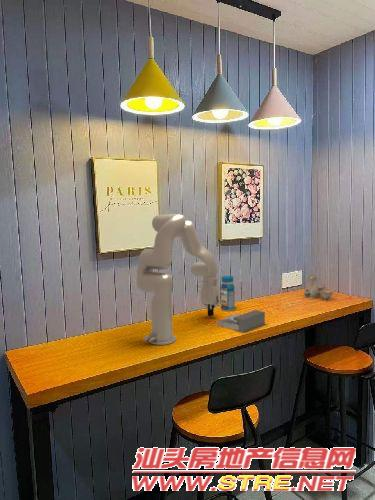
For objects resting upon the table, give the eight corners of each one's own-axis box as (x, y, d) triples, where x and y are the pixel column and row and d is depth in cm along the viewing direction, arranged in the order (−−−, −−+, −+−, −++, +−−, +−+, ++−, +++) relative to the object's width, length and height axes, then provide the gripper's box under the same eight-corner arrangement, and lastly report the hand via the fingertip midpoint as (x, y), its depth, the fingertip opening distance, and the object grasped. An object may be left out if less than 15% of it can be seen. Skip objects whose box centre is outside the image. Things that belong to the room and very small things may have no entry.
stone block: (220, 328, 193) (238, 327, 187) (219, 319, 193) (236, 318, 188) (230, 323, 203) (247, 322, 197) (229, 314, 203) (245, 313, 198)
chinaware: (337, 303, 234) (339, 277, 233) (310, 302, 234) (313, 276, 233) (320, 294, 262) (323, 271, 261) (297, 292, 262) (299, 269, 260)
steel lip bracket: (243, 332, 179) (243, 319, 178) (216, 325, 192) (215, 313, 191) (264, 324, 191) (264, 312, 191) (237, 318, 204) (237, 306, 203)
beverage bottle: (234, 311, 218) (233, 277, 216) (220, 311, 220) (219, 277, 218) (235, 307, 226) (235, 275, 224) (221, 307, 228) (221, 275, 226)
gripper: (195, 282, 207) (196, 314, 209) (215, 285, 196) (216, 319, 198) (204, 280, 212) (205, 312, 214) (224, 283, 202) (225, 316, 203)
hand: (210, 315), depth 206 cm, fingers closed
